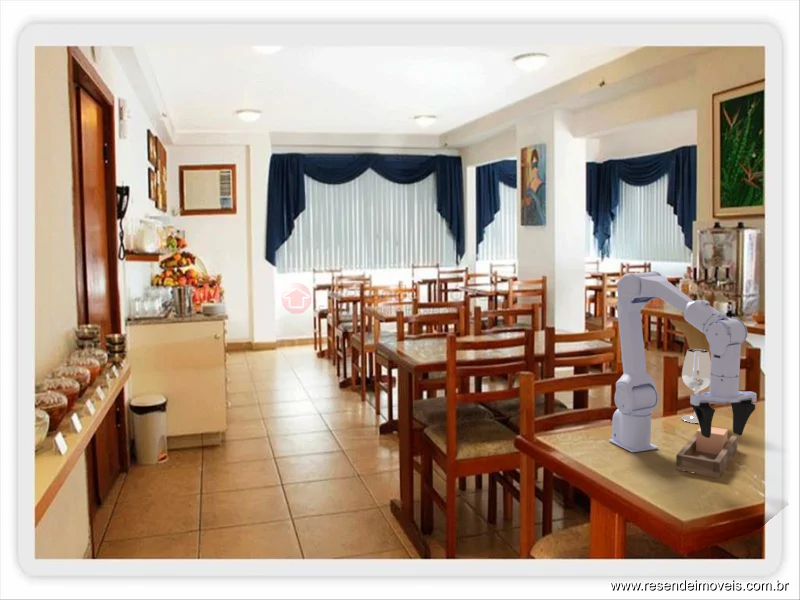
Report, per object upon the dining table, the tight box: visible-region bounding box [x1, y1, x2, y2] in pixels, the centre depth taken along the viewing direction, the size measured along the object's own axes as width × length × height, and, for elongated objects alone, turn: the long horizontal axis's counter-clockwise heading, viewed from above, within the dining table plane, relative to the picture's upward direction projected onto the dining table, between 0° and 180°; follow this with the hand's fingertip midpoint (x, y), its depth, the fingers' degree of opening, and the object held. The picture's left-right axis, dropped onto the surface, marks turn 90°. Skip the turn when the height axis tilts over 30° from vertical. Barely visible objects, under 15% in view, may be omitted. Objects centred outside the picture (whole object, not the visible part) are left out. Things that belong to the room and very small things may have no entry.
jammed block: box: [695, 426, 729, 455], centre depth 163 cm, size 5×6×5 cm
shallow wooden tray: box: [675, 431, 739, 479], centre depth 160 cm, size 22×9×4 cm, turn 144°
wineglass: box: [680, 348, 711, 425], centre depth 190 cm, size 8×8×20 cm
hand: (721, 435), depth 148 cm, fingers open, 7 cm apart
